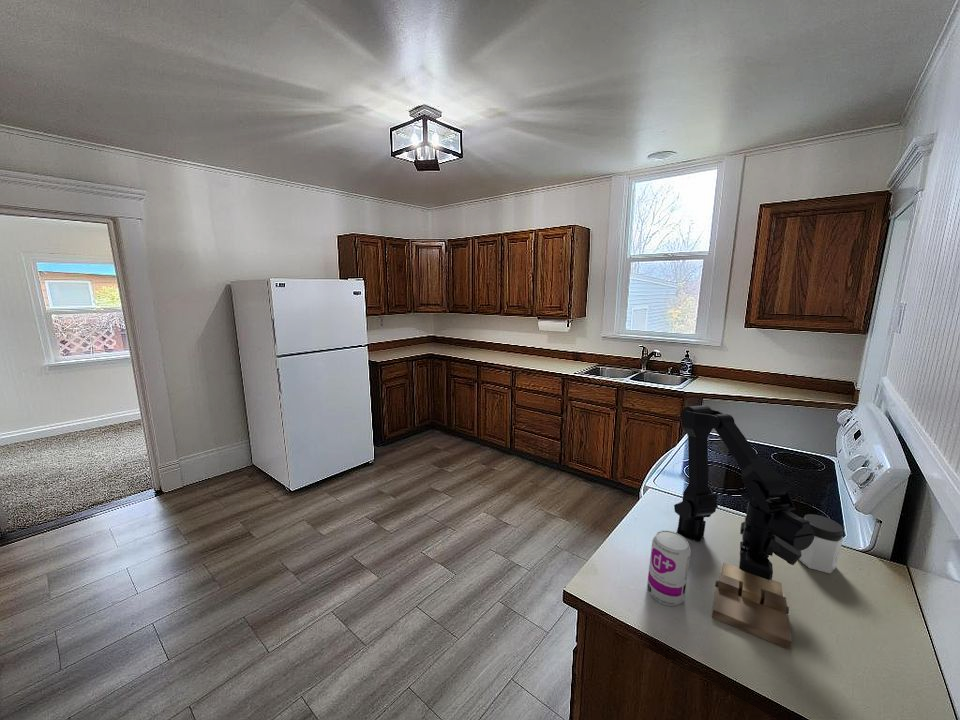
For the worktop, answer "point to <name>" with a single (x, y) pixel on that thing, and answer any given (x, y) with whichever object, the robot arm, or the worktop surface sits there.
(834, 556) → the jar
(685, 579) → the supplement can
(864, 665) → the worktop surface
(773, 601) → the fixed leaf
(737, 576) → the tan block
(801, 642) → the worktop surface
